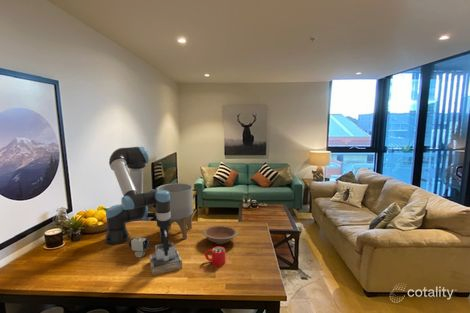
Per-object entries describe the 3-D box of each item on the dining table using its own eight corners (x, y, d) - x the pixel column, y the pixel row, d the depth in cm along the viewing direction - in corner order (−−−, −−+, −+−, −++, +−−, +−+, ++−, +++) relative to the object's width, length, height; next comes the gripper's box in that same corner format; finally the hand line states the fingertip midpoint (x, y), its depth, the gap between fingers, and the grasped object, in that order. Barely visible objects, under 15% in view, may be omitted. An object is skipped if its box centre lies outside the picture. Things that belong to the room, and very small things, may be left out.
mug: (206, 258, 156) (206, 245, 155) (226, 258, 155) (226, 246, 154) (203, 265, 148) (203, 252, 147) (224, 266, 148) (224, 253, 146)
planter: (182, 223, 207) (180, 181, 202) (200, 233, 189) (199, 187, 184) (152, 232, 190) (150, 187, 185) (169, 244, 172) (167, 194, 167)
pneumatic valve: (146, 259, 155) (145, 240, 153) (129, 257, 157) (127, 238, 156) (151, 254, 160) (150, 236, 159) (134, 252, 163) (133, 234, 161)
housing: (173, 253, 153) (172, 242, 152) (175, 258, 147) (174, 246, 146) (155, 257, 149) (154, 245, 148) (156, 262, 143) (156, 250, 142)
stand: (149, 262, 152) (149, 254, 151) (177, 256, 158) (177, 248, 157) (152, 275, 139) (151, 266, 138) (182, 268, 145) (182, 260, 145)
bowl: (244, 243, 174) (244, 232, 173) (213, 254, 161) (213, 241, 160) (225, 231, 193) (225, 220, 192) (196, 239, 180) (196, 228, 179)
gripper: (154, 213, 152) (156, 250, 155) (158, 226, 134) (160, 267, 138) (167, 211, 155) (169, 248, 158) (173, 223, 137) (175, 264, 141)
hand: (165, 257), depth 148 cm, fingers closed on housing, 6 cm apart
